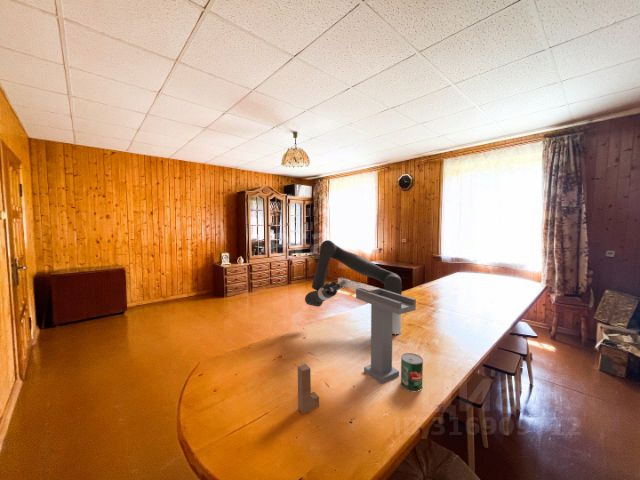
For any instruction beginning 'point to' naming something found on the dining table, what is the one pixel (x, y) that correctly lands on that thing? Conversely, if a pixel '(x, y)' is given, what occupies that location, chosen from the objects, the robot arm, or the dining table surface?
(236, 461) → the dining table surface
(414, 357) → the canned tomato
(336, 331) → the dining table surface
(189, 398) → the dining table surface
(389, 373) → the stand
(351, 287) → the block
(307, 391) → the l-shaped bracket
